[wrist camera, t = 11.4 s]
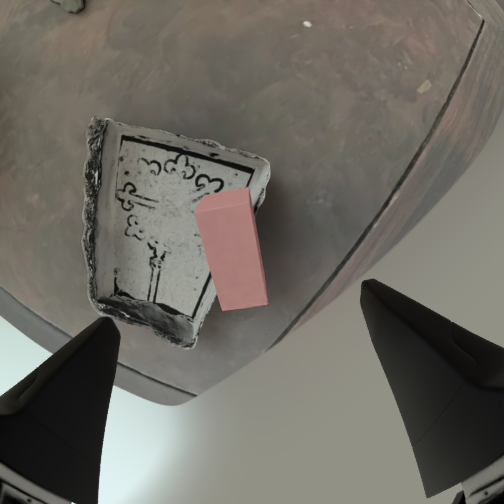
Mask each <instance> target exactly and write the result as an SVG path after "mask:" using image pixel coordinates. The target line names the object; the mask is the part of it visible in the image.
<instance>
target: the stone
mask: <svg viewBox="0 0 504 504" xmlns="http://www.w3.org/2000/svg"><path fill="white" fill-rule="evenodd" d="M50 1H54V2H59V3H60V4H61V7H62V8H63V9H65V10H66V11H67V12H74V13H78V12H79V11H80V10H81V9H83V8H84V5H83V0H50Z"/></svg>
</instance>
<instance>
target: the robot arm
mask: <svg viewBox="0 0 504 504" xmlns="http://www.w3.org/2000/svg"><path fill="white" fill-rule="evenodd" d="M360 304H361V308H362V311H363V314H364V317H365V320H366V324H367V327H368V330H369V334H370V337H371V340H372V343H373V345H374V348H375V351H376V353H377V355H378V358H379V360H380V362H381V365H382V367H383V370H384V372H385V374H386V377H387V379H388V382H389V384H390V387H391V389H392V392H393V394H394V397H395V400H396V402H397V405H398V408H399V411H400V413H401V416H402V419H403V422H404V425H405V427H406V430H407V433H408V436H409V439H410V442H411V445H412V447H413V452H414V455H415V458H416V461H417V465H418V468H419V472H420V475H421V479H422V482H423V486H424V490H425V494H426V497H427V498H430V497H432V496H434V495H436V494H439V493H441V492H443V491H444V490H447V489H449V488H451V487H453V486H455V485H457V484H458V483H460V482H461V484H462V487H463V490H462V491H460V492H459V493H457V495H456V497H455V499H454V501H453V503H452V504H504V348H503V347H501V346H499V345H496V344H494V343H492V342H490V341H488V340H486V339H484V338H482V337H480V336H478V335H476V334H474V333H472V332H470V331H468V330H466V329H465V328H463V327H461V326H459V325H457V324H456V323H454V322H451V321H450V320H449V319H447V318H445V317H443V316H441V315H440V314H438V313H436V312H434V311H433V310H431V309H429V308H427V307H425V306H424V305H422V304H420V303H418V302H416V301H415V300H413V299H411V298H409V297H407V296H405V295H403V294H402V293H400V292H398V291H396V290H394V289H392V288H391V287H389V286H387V285H385V284H383V283H381V282H379V281H377V280H375V279H369V280H364V281H363V282H362V284H361V297H360ZM120 339H121V336H120V332H119V330H118V328H117V327H116V325H115V323H114V322H113V320H112V318H111V317H109V316H106V317H100V318H98V319H97V320H96V321H95V322H93V323H92V324H91V325H89V326H88V327H87V328H86V329H84V330H83V331H82V332H80V333H79V334H78V335H77V336H75V337H74V338H73V339H72V340H70V341H69V342H68V343H67V344H65V345H64V346H63V347H62V348H60V349H59V350H58V351H57V352H55V353H54V354H53V355H52V356H51V357H49V358H48V359H47V360H46V361H44V362H43V363H42V364H41V365H40V366H39V367H37V368H36V369H35V370H34V371H32V372H31V373H30V374H29V375H28V376H26V377H25V378H24V379H23V380H21V381H20V382H19V383H17V384H16V385H15V386H13V387H12V388H11V389H9V390H8V391H7V392H5V393H4V394H3V395H1V396H0V504H71V502H73V503H75V504H98V489H99V476H100V463H101V455H102V446H103V439H104V432H105V426H106V420H107V414H108V408H109V403H110V398H111V393H112V388H113V383H114V379H115V374H116V367H117V360H118V353H119V346H120Z"/></svg>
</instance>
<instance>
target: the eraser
mask: <svg viewBox="0 0 504 504" xmlns="http://www.w3.org/2000/svg"><path fill="white" fill-rule="evenodd" d="M194 214H195V218H196V222H197V225H198V229H199V233H200V236H201V240H202V244H203V247H204V251H205V254H206V258H207V261H208V265H209V268H210V272H211V275H212V279H213V282H214V285H215V289H216V292H217V295H218V299H219V302H220V305H221V308H222V311H227V310H235V309H242V308H249V307H256V306H263V305H268V298H267V288H266V279H265V273H264V267H263V261H262V256H261V250H260V244H259V239H258V233H257V227H256V222H255V216H254V211H253V205H252V200H251V194H250V189H249V187H246V188H240V189H234V190H229V191H223V192H218V193H213V194H208V195H204V196H203V197H202V199H201V201H200V203H199V204H198V206H197V208H196V210H195V212H194Z"/></svg>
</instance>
